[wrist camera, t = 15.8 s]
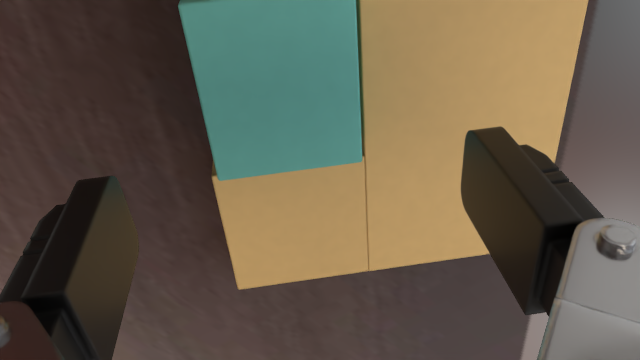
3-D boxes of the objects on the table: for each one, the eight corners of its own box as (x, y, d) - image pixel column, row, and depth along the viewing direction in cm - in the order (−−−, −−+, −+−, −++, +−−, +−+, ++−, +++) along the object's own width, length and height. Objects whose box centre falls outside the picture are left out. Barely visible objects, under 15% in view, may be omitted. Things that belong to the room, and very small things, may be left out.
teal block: (188, -24, 18) (177, 4, 15) (338, -40, 18) (355, -16, 15) (221, 135, 21) (218, 182, 18) (347, 118, 21) (362, 163, 19)
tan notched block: (113, -293, 14) (95, -311, 12) (615, -333, 15) (662, -354, 13) (238, 260, 25) (237, 290, 23) (518, 221, 26) (537, 247, 24)
